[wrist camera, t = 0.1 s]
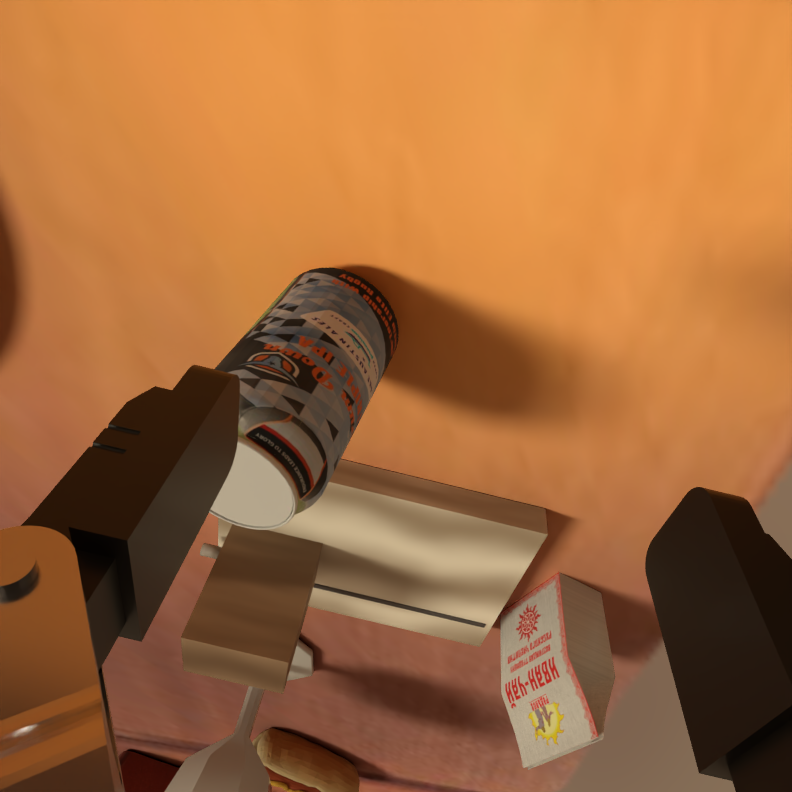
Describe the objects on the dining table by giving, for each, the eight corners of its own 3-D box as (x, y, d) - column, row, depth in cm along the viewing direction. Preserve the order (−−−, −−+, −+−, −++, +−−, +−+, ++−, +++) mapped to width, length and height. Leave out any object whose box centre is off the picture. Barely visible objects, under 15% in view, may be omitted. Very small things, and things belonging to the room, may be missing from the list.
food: (372, 763, 66) (365, 814, 62) (345, 772, 69) (335, 821, 65) (272, 716, 61) (257, 768, 57) (247, 728, 64) (231, 778, 60)
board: (230, 432, 35) (217, 456, 33) (545, 508, 35) (547, 535, 34) (227, 562, 44) (217, 586, 42) (480, 622, 44) (479, 648, 42)
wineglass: (296, 620, 48) (193, 970, 31) (330, 672, 53) (256, 998, 36) (206, 622, 50) (66, 949, 34) (246, 672, 55) (142, 978, 39)
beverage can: (420, 346, 29) (385, 533, 20) (297, 379, 32) (215, 560, 22) (370, 235, 26) (301, 398, 17) (238, 282, 28) (111, 447, 19)
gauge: (209, 516, 37) (152, 630, 31) (322, 543, 37) (288, 662, 31) (209, 551, 40) (156, 664, 33) (316, 577, 40) (283, 693, 34)
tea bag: (601, 592, 40) (627, 749, 32) (539, 631, 44) (549, 778, 36) (558, 572, 39) (575, 727, 31) (500, 613, 43) (502, 759, 35)
